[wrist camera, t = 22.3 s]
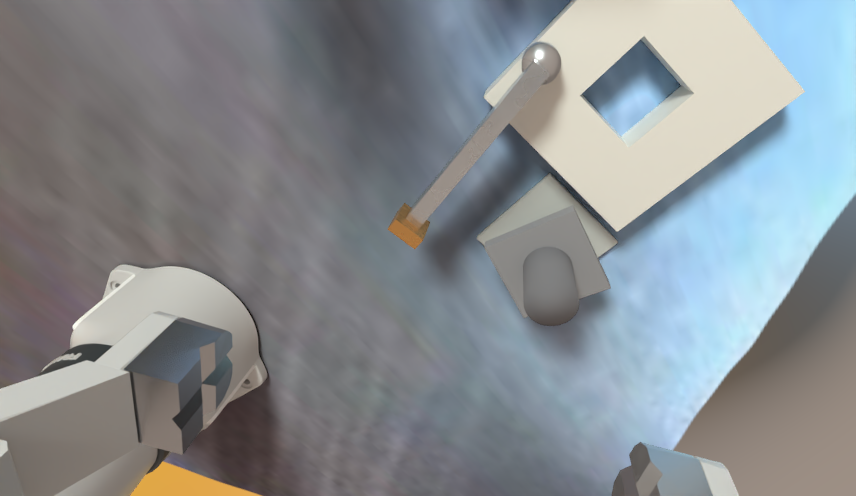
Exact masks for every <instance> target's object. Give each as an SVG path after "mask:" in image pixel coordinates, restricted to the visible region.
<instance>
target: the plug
mask: <svg viewBox="0 0 856 496" xmlns="http://www.w3.org/2000/svg"><path fill="white" fill-rule="evenodd" d="M484 248H485V250H486V252H487V253H488V255H489V257H490V259H491V261H492V262H493V264H494V266H495V268H496V269H497V271H498V273H499V275H500V277H501V278H502V280H503V282H504V284H505V285H506V287H507V289H508V291H509V293H510V294H511V296H512V298H513V300H514V301H515V303H516V305H517V307H518V309H519V310H520V312H521V314H522V316H523V317H524V318H525V317H528V316H529V317H530V318H531V319H532V320H533V321H535V322H537V323H539V324H542V325H547V326H556V325H561V324H564V323H566V322H568V321H569V320H571V319H572V318H573V317H574V316H575V315H576V313H577V311H578V308H579V299H581V298H584V297H586V296H589V295H592V294H595V293H598V292H601V291H604V290H607V289H610V288H611V287H610V284H609V281H608V278H607V276H606V274H605V272H604V270H603V268H602V266H601V264H600V261H599V259H598V257H597V255H596V253H595V251H594V249H593V246H592V244H591V242H590V240H589V238H588V236H587V234H586V231H585V229H584V227H583V225H582V223H581V221H580V219H579V216H578V214H577V212H576V210H575V208H574V206H573V205H572V206H570V207H567V208H565V209H562V210H560V211H557V212H555V213H553V214H550V215H548V216H545V217H543V218H541V219H538V220H536V221H533V222H531V223H529V224H526V225H524V226H521V227H519V228H517V229H514V230H512V231H509V232H507V233H505V234H502V235H500V236H497V237H495V238H493V239H490V240H488V241H485V246H484Z"/></svg>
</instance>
